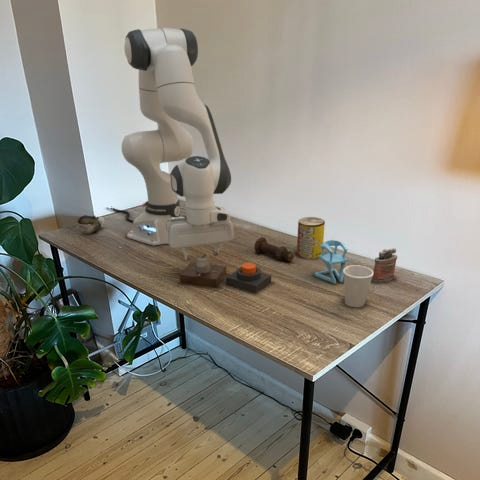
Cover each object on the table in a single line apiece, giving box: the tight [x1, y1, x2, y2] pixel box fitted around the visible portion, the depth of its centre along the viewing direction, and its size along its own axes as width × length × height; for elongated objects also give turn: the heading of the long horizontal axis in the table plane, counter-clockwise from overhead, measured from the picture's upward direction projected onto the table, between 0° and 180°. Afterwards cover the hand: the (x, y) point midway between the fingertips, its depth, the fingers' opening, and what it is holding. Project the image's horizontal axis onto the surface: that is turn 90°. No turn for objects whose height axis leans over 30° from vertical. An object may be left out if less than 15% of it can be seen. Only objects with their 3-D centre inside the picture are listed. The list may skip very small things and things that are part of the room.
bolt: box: [253, 237, 295, 262], centre depth 172 cm, size 6×5×15 cm
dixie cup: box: [343, 264, 374, 308], centre depth 141 cm, size 8×8×10 cm
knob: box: [195, 253, 211, 273], centre depth 155 cm, size 4×4×5 cm
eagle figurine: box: [77, 214, 106, 235], centre depth 196 cm, size 8×7×9 cm
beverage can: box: [296, 216, 326, 260], centre depth 172 cm, size 9×9×12 cm
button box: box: [225, 266, 272, 294], centre depth 154 cm, size 11×9×4 cm
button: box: [241, 262, 257, 274], centre depth 152 cm, size 4×4×2 cm
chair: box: [314, 239, 349, 285], centre depth 155 cm, size 8×8×12 cm
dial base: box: [179, 262, 227, 289], centre depth 157 cm, size 12×10×3 cm
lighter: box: [371, 247, 398, 284], centre depth 154 cm, size 8×3×10 cm, turn 117°
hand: (201, 257), depth 155 cm, fingers open, 8 cm apart
